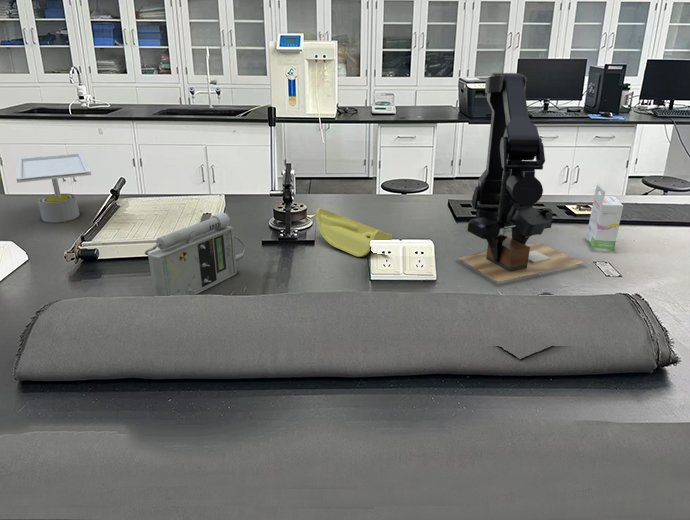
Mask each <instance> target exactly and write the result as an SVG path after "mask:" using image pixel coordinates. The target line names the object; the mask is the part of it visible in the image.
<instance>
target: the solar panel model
mask: <svg viewBox="0 0 690 520" xmlns="http://www.w3.org/2000/svg"><path fill="white" fill-rule="evenodd" d="M91 172H92V171H91V169H90V166H89V165H88V163H87V161H86V159H85V157H84V155H83V153H82V152H79V153H67V154H66V153H65V154H56V155H54V154H53V155H44V156H33V157H32V156H31V157H21V158H16V176H15V177H16V178H15V180H16V183H17V184H18V183H26V182H27V183H29V182H37V181H38V182H39V181H48V180H51V183H52V188H53V192H54V194H53V193H52V194H48V195H44V196H41V197H39V198H38V199H37V203H38V204H37V205H38V208H39V212H40V217H41V220H42V221H43V222H46V223H52V224H53V223H54V224H55V223H64V222H68V221H72V220H75V219H77V218H79V216H80V210H79V205H78V200H77V196H76V195H75V194H74V193H61V190H60V185H59V180H58V179H67V178H77V177H85V176H92V173H91Z"/></svg>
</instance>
